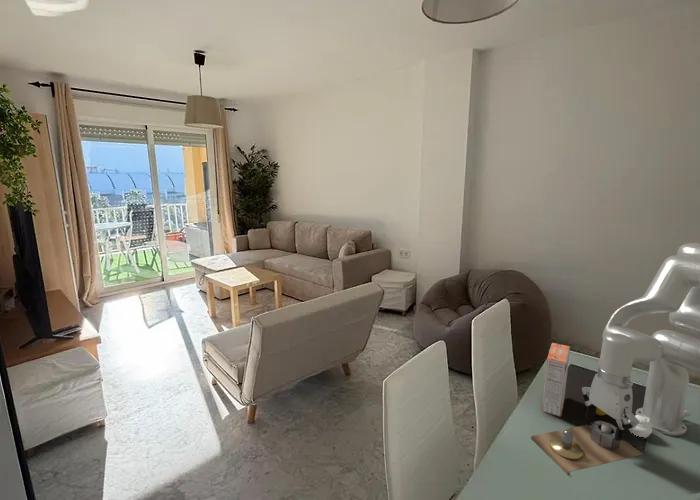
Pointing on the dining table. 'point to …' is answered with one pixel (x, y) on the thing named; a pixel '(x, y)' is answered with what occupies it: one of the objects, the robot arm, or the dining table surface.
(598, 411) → the lemon
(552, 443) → the hub
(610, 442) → the ring
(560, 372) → the cracker box
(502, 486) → the dining table surface
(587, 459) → the board
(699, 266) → the robot arm
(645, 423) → the muffin
